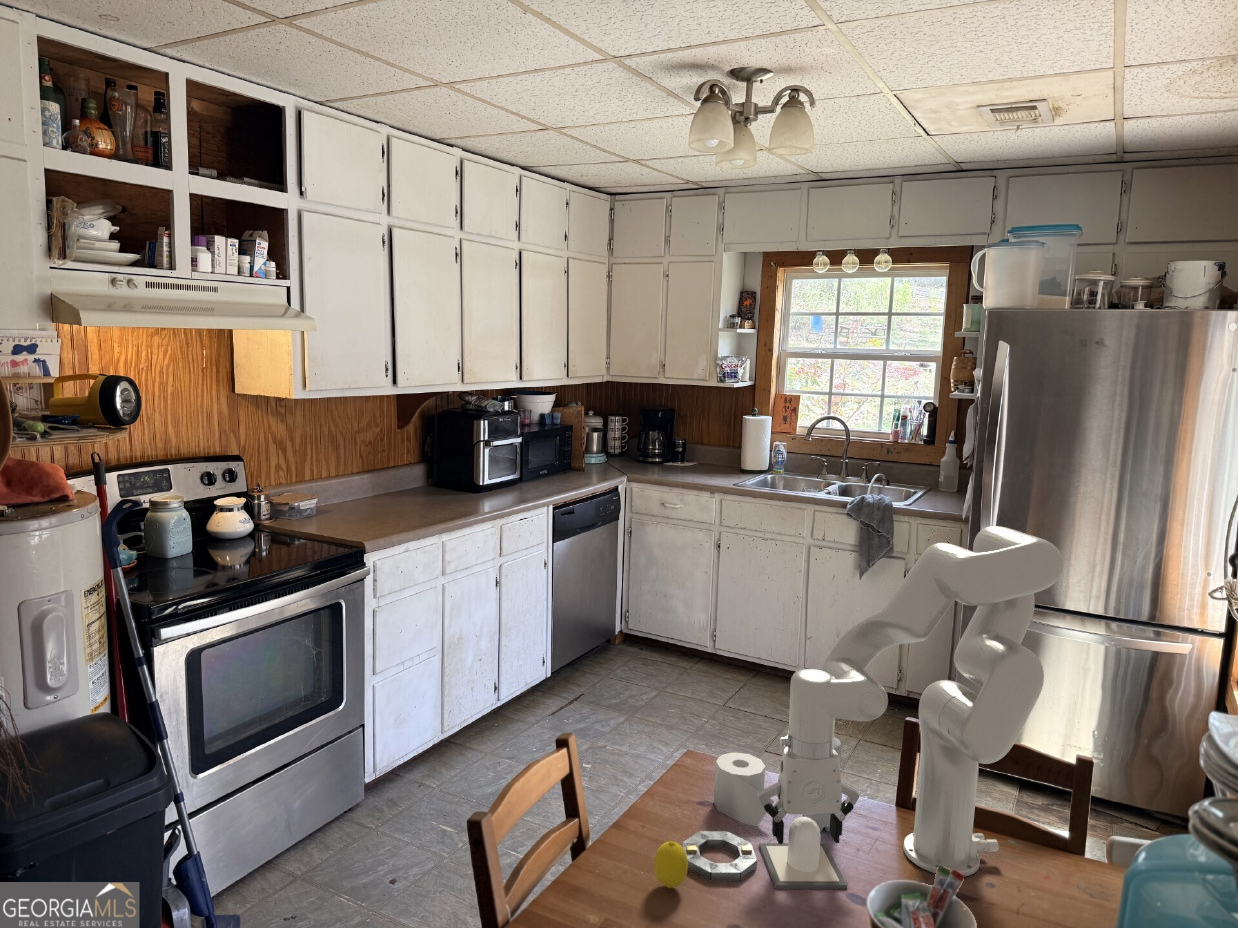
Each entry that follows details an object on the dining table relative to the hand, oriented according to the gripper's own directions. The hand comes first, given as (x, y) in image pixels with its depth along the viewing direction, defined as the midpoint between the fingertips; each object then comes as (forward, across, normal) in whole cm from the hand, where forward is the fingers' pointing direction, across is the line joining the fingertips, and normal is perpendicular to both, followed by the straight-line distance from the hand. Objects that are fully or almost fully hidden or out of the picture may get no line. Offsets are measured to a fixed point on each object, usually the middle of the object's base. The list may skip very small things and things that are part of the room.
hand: (806, 838), depth 141 cm
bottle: (+5, +6, +13) cm, 15 cm away
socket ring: (+5, -15, +2) cm, 16 cm away
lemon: (+5, -24, -6) cm, 25 cm away
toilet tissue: (+5, -7, +19) cm, 21 cm away
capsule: (+4, 0, 0) cm, 5 cm away
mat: (+5, -1, 0) cm, 5 cm away
